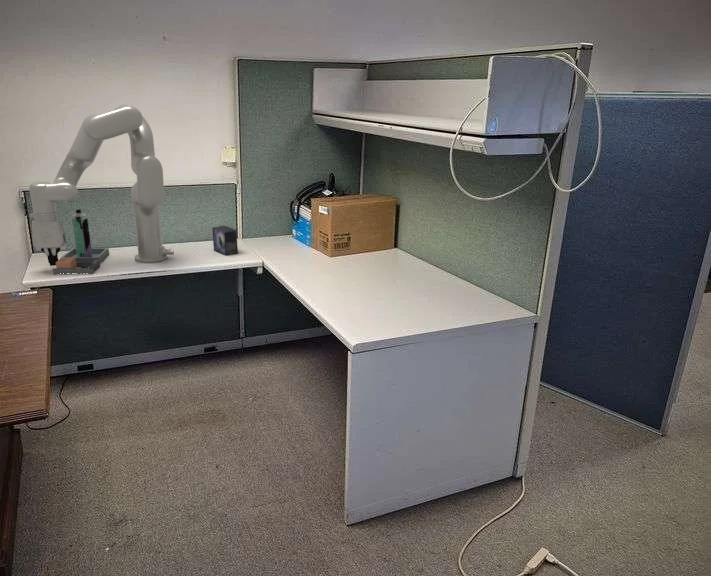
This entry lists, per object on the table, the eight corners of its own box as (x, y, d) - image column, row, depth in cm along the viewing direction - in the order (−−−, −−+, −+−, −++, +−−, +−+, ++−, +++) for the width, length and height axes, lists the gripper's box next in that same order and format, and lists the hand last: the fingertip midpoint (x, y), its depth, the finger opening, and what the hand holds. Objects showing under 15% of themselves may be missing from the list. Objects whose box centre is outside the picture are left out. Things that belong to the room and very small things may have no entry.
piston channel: (100, 266, 214) (99, 259, 213) (93, 274, 206) (92, 266, 205) (61, 267, 212) (60, 259, 211) (53, 274, 204) (51, 266, 203)
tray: (109, 254, 229) (108, 248, 228) (99, 264, 216) (98, 257, 215) (73, 255, 227) (72, 248, 226) (61, 265, 214) (60, 257, 213)
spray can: (94, 259, 221) (88, 209, 215) (79, 261, 218) (72, 211, 211) (90, 255, 225) (83, 207, 219) (75, 258, 222) (68, 208, 215)
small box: (212, 250, 240) (211, 227, 237) (225, 248, 244) (224, 225, 241) (225, 256, 233) (223, 231, 229) (238, 253, 237) (237, 229, 234)
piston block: (77, 267, 212) (75, 257, 210) (71, 272, 206) (69, 262, 204) (63, 267, 211) (61, 257, 210) (57, 272, 205) (55, 262, 204)
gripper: (19, 218, 196) (28, 268, 203) (64, 218, 198) (71, 267, 205) (28, 214, 203) (36, 262, 210) (71, 214, 205) (78, 261, 212)
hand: (53, 264), depth 207 cm, fingers closed
